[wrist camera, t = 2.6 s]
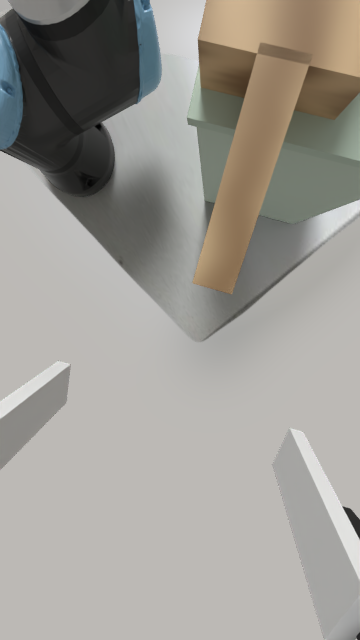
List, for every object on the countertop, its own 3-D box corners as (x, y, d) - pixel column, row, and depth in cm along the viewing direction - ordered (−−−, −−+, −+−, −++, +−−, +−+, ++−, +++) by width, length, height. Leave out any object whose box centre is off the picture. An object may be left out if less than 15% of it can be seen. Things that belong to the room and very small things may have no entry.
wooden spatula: (158, 267, 21) (147, 270, 17) (241, -86, 15) (252, -208, 11) (266, 298, 21) (278, 307, 17) (401, -54, 14) (471, -169, 10)
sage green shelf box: (201, 202, 46) (186, 117, 18) (218, 139, 43) (233, -88, 15) (294, 227, 46) (437, 180, 17) (318, 165, 42) (545, -24, 14)
